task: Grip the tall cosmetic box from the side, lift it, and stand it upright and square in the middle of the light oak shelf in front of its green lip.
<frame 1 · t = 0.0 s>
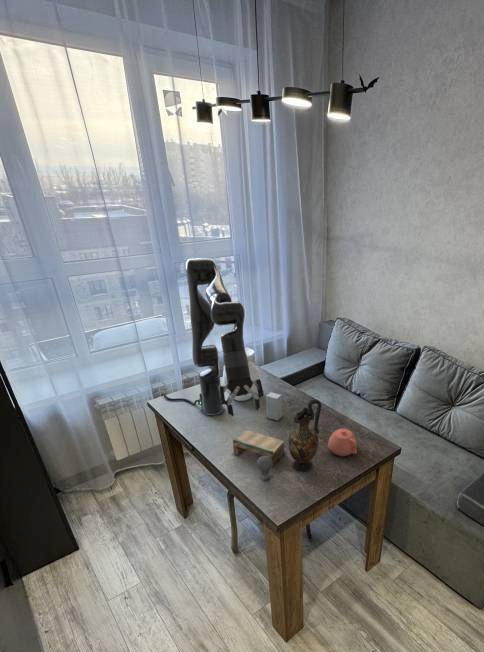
hand: (244, 412, 132), 31 cm above the table, tool tilted 20°, fingers open, 8 cm apart
vase: (303, 465, 159), on the table
cosmetic box: (274, 417, 189), on the table
light bulb: (265, 478, 152), on the table
shelf: (259, 453, 165), on the table
pitcher: (243, 396, 204), on the table
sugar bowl: (343, 451, 169), on the table
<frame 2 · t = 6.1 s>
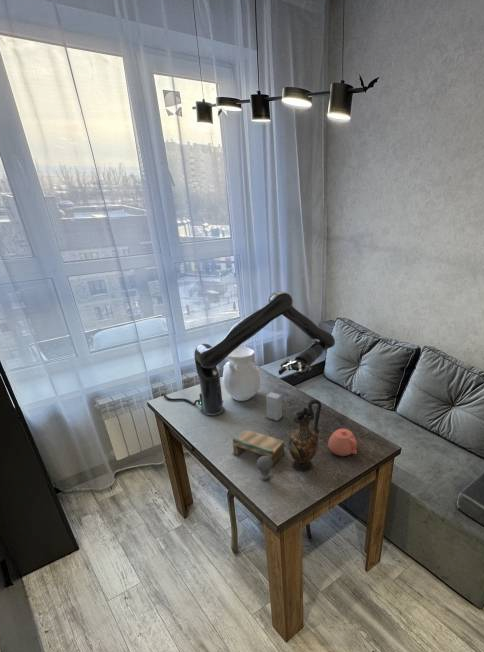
hand: (286, 375, 182), 20 cm above the table, tool horizontal, fingers open, 8 cm apart
nothing on the table moved.
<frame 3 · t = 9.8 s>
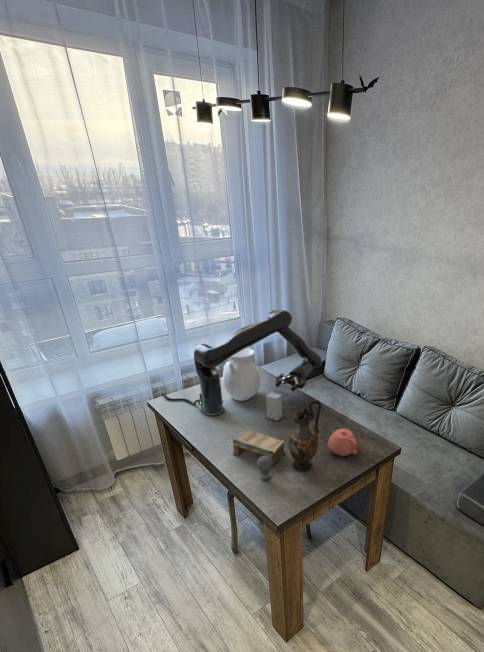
hand: (284, 387, 191), 11 cm above the table, tool horizontal, fingers open, 8 cm apart
nothing on the table moved.
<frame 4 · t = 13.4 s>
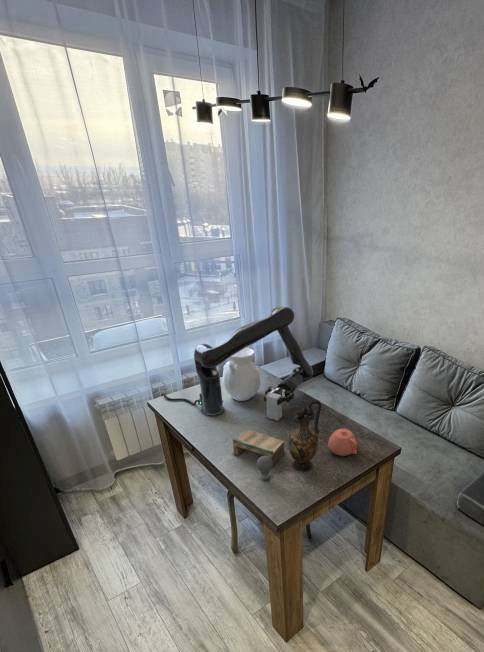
hand: (271, 401, 182), 10 cm above the table, tool horizontal, fingers closed on cosmetic box, 6 cm apart
cosmetic box: (274, 417, 189), on the table, touching gripper
everything else where it was.
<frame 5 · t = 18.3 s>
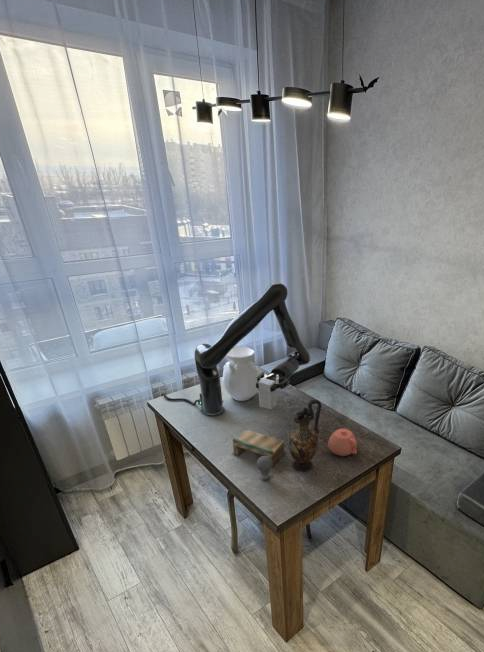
hand: (264, 388, 164), 24 cm above the table, tool horizontal, fingers closed on cosmetic box, 6 cm apart
cosmetic box: (267, 406, 171), point 14 cm above the table, touching gripper
everything else where it was.
when the fingers open (16 cm above the table, at t = 23.4 s): cosmetic box stays where it is, resting on shelf.
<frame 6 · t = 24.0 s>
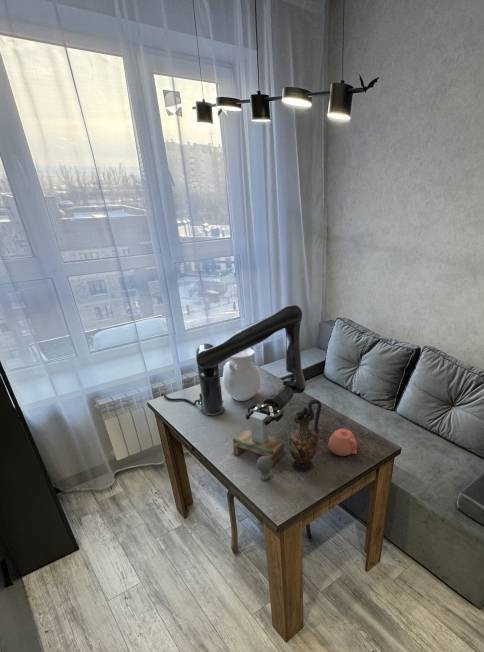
hand: (256, 420, 155), 17 cm above the table, tool horizontal, fingers open, 8 cm apart
cosmetic box: (260, 440, 162), point 6 cm above the table, touching shelf
everything else where it was.
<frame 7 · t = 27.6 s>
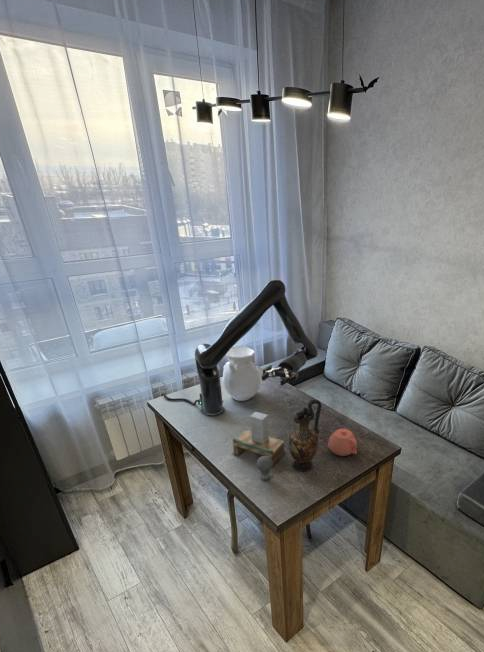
hand: (271, 380, 160), 28 cm above the table, tool horizontal, fingers open, 8 cm apart
nothing on the table moved.
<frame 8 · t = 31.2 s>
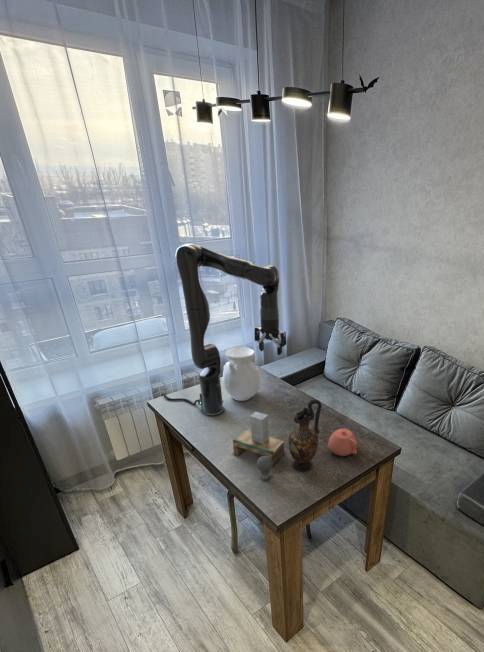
hand: (270, 352, 172), 33 cm above the table, tool pointing down, fingers open, 8 cm apart
nothing on the table moved.
at the end: cosmetic box inside the target area on the shelf (0.7 cm from its centre), point 5.8 cm above the shelf's base; cosmetic box tilted 0°; the gripper is holding nothing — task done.
